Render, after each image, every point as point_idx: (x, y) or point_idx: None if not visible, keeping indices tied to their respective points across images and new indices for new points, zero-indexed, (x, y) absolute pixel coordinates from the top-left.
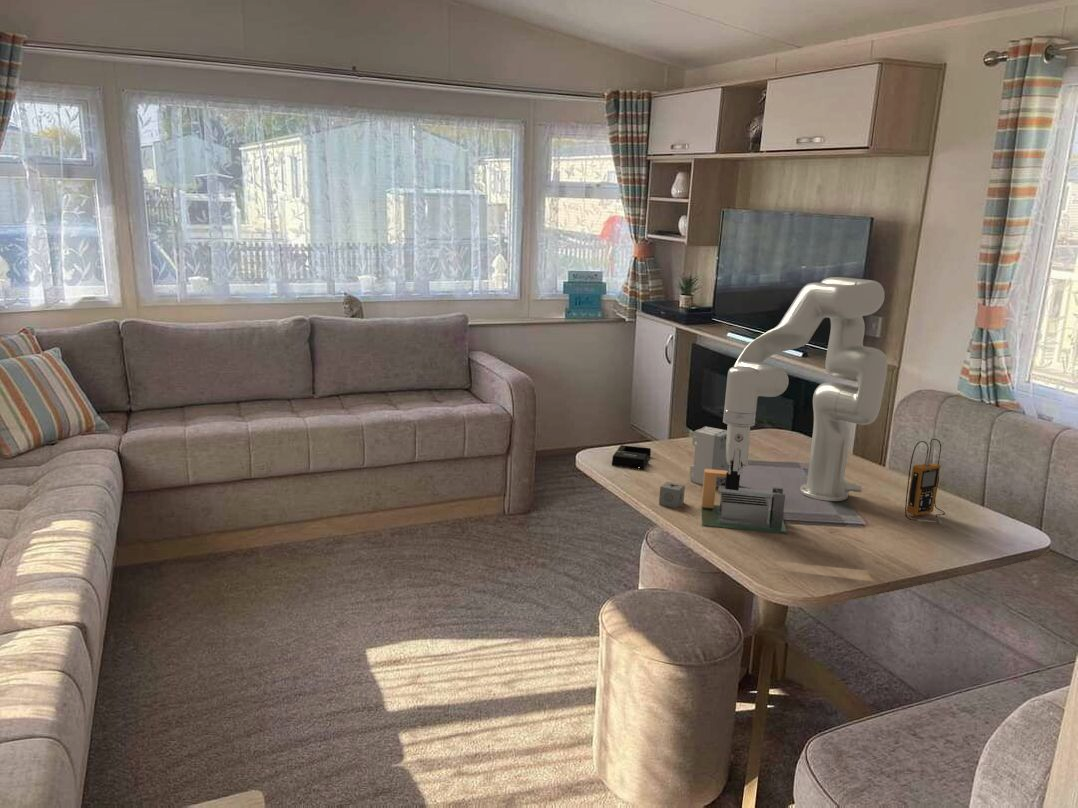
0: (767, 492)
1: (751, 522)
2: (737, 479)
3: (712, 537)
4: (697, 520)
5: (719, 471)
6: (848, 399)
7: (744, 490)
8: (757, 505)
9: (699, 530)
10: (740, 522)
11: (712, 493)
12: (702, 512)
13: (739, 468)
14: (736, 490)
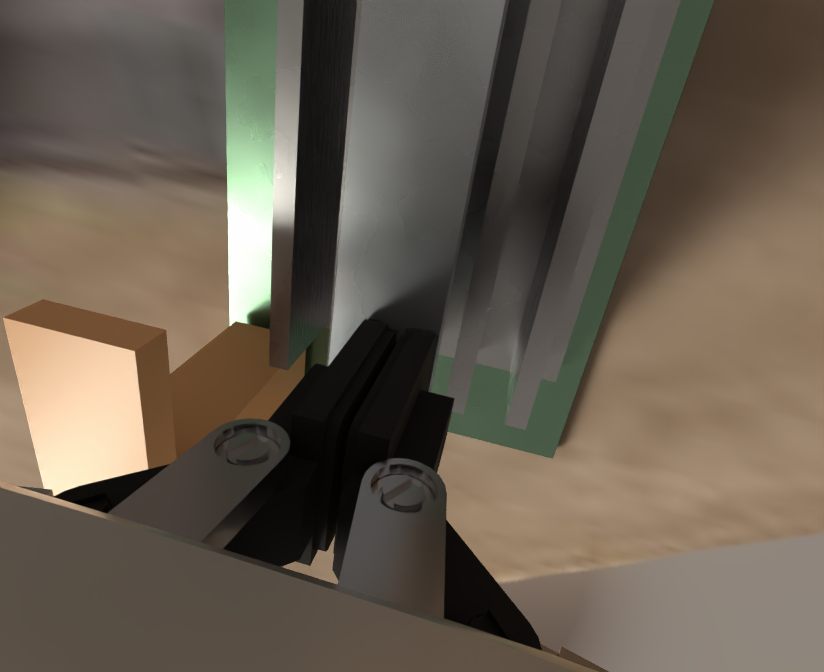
0: None
1: (626, 155)
2: (401, 423)
3: (757, 449)
4: (470, 449)
5: (83, 468)
6: None
7: (427, 261)
8: (606, 113)
9: (630, 482)
10: (600, 241)
11: (260, 405)
12: None
13: (438, 603)
14: (437, 351)
